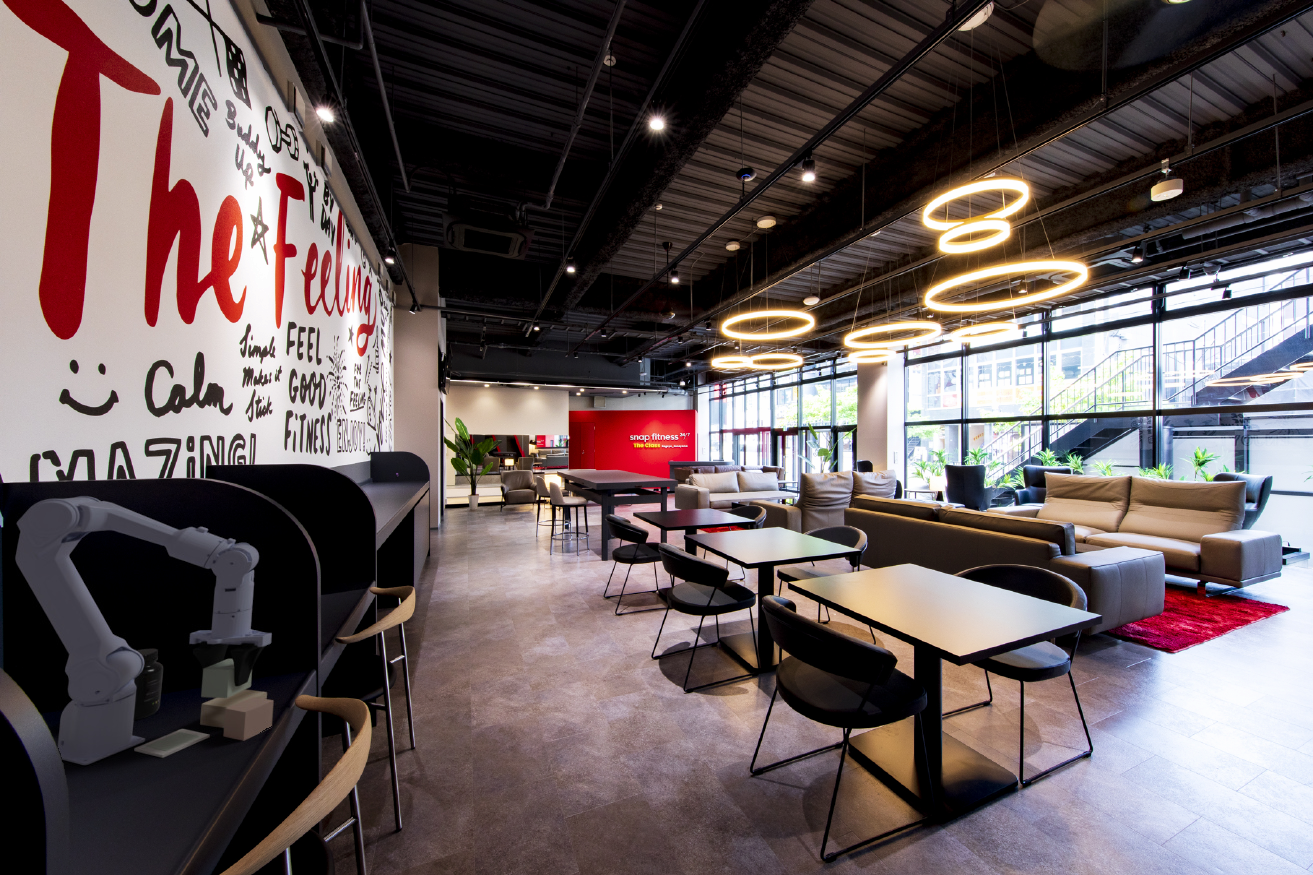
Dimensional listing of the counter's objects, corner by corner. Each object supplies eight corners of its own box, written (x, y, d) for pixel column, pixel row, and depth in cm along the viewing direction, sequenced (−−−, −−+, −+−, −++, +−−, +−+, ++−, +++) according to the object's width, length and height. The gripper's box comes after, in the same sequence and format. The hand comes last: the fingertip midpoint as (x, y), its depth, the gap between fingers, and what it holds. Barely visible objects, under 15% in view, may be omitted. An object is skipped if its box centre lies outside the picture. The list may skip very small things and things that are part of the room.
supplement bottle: (98, 725, 95) (105, 659, 96) (128, 708, 101) (134, 647, 102) (142, 722, 96) (147, 657, 97) (168, 705, 103) (173, 645, 104)
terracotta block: (223, 736, 92) (225, 708, 92) (252, 723, 96) (253, 696, 97) (243, 740, 90) (245, 712, 91) (271, 727, 95) (273, 700, 95)
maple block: (199, 725, 96) (201, 703, 96) (237, 708, 102) (238, 688, 103) (229, 729, 94) (231, 707, 95) (265, 712, 101) (267, 692, 101)
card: (134, 750, 86) (134, 747, 86) (182, 730, 93) (182, 728, 93) (162, 757, 84) (162, 754, 85) (209, 736, 91) (209, 733, 91)
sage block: (201, 696, 92) (203, 668, 92) (226, 685, 97) (228, 658, 97) (227, 698, 92) (229, 669, 92) (250, 686, 97) (252, 659, 97)
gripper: (175, 613, 92) (169, 690, 91) (250, 616, 91) (245, 694, 90) (212, 604, 99) (206, 675, 98) (282, 606, 98) (277, 678, 97)
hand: (227, 683), depth 94 cm, fingers closed on sage block, 5 cm apart
